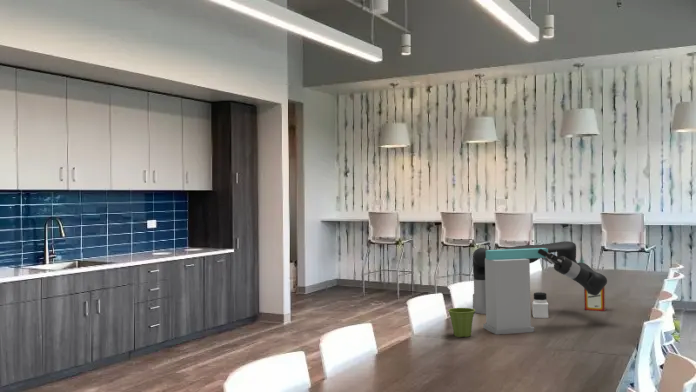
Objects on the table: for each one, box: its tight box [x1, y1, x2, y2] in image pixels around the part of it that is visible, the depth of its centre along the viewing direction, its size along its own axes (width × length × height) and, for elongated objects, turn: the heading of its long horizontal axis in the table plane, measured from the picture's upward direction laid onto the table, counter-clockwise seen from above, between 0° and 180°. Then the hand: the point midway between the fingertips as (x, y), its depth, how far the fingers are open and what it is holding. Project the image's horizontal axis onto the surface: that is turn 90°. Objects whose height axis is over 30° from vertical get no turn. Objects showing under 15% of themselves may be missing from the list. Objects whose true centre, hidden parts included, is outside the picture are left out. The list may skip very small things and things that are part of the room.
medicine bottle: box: [531, 291, 550, 319], centre depth 313 cm, size 7×7×12 cm
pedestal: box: [483, 258, 535, 335], centre depth 284 cm, size 18×14×32 cm
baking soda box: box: [583, 285, 606, 312], centre depth 328 cm, size 10×6×16 cm
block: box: [486, 248, 548, 260], centre depth 286 cm, size 28×4×4 cm, turn 99°
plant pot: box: [447, 307, 475, 338], centre depth 275 cm, size 12×12×11 cm
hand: (536, 250), depth 287 cm, fingers closed on block, 4 cm apart
